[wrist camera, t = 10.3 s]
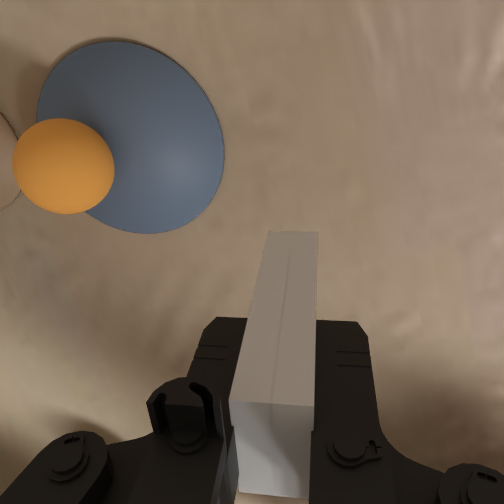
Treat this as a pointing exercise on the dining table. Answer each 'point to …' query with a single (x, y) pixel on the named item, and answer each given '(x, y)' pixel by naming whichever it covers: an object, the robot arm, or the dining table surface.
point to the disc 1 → (7, 164)
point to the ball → (63, 166)
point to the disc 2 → (141, 132)
